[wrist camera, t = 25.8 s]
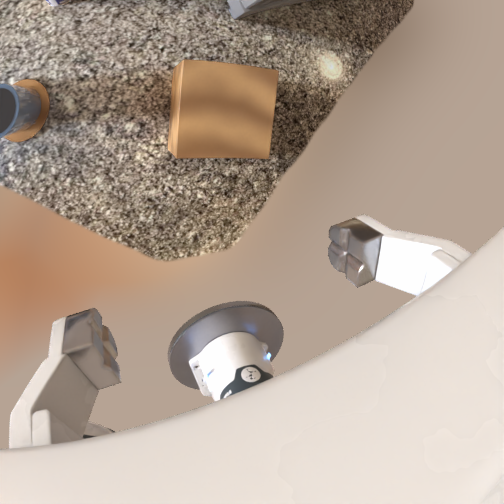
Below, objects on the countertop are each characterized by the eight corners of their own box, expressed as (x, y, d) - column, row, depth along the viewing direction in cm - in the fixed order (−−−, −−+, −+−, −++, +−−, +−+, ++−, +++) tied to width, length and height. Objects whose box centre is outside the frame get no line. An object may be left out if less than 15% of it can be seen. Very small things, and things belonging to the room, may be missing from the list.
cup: (41, 127, 28) (19, 133, 21) (4, 135, 25) (-24, 145, 18) (42, 82, 25) (20, 77, 18) (4, 92, 22) (-24, 91, 15)
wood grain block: (245, 149, 43) (268, 159, 36) (167, 149, 38) (176, 158, 32) (253, 74, 37) (279, 70, 31) (173, 68, 32) (183, 59, 26)
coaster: (49, 136, 29) (48, 136, 29) (-2, 146, 26) (-3, 147, 26) (51, 74, 25) (51, 73, 25) (-2, 86, 22) (-3, 86, 21)
